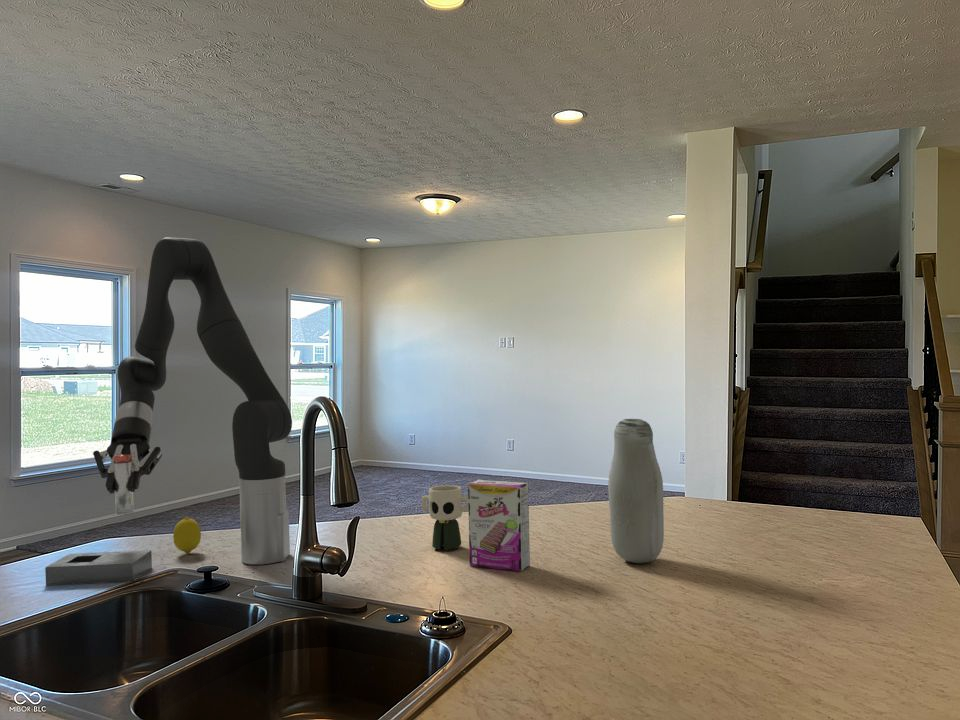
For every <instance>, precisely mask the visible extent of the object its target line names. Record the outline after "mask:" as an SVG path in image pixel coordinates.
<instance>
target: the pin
mask: <svg viewBox="0 0 960 720" xmlns="http://www.w3.org/2000/svg"><path fill="white" fill-rule="evenodd" d="M113 457H114V481H115V492H114V498H115V499H114V500H115V501H114V502H115V515H127V514H128V515H129V514H132V513H134V512H135V506H134V505H135V501H134V500H135V499H134V492H131V491H130V488H129V485H130V479H131V473H132V472H133V465H132V454H122V455H115V456H113Z"/></svg>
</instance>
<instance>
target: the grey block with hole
mask: <svg viewBox="0 0 960 720" xmlns="http://www.w3.org/2000/svg"><path fill="white" fill-rule="evenodd" d="M152 553H153V552H152V549H151V550H149V549H148V550H146V549H145V550H125V551H104V552H83V553H79V552H78V553H69V554H67V555H65V556H63V557H62V558H60V559H58V560H55V561H54V562H52V563H50V564H48V565H47V566H45V567H44V569H45V570H44V571H45V586H46V585H47V586H48V585H49V586H64V585H65V586H69V585H68V584H70V585H86V584H87V585H89V584H92V585H93V584H108V583H129V582H128V581H133V582H135V581H136V580H137V579H139V578H140V577H141V576H143V575H144V574H145V573H146V571H147V570H148V571H149V570H151V569H152V568H153V560H152V559H153V558H152V557H153V556H152ZM151 567H152V568H151ZM150 568H151V569H150ZM148 571H147V572H148ZM143 573H144V574H143ZM142 574H143V575H142ZM140 575H141V576H140ZM139 576H140V577H139ZM138 577H139V578H138ZM136 578H137V579H136ZM135 579H136V580H135ZM134 580H135V581H134Z"/></svg>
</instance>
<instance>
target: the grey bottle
mask: <svg viewBox="0 0 960 720" xmlns="http://www.w3.org/2000/svg"><path fill="white" fill-rule="evenodd" d="M613 440H614V442H613V443H614V445H613V456H612V460H611V463H610V464H611V465H610V470H609V474H608V484H607V485H608V486H607V487H608V488H607V489H608V504H609V525H610V526H609V527H610V528H609V530H610V539H611V540H610V541H611V544H612V546H613V548H614V551H615V552H616V554H617V555H618V556H619V557H620V558H621V559H622V560H625V561H627V562H629V563H634V564H646V563H651V562H652V561H654V560H655V559H657V558H658V557H659V555H660V554H661V552H662V549H663V545H664V539H665V538H664V537H665V536H664V535H665V534H664V533H665V529H664V528H665V527H664V524H665V523H664V520H665V519H664V482H663V476H662V471H661V468H660V465H659V462H658V459H657V455H656V451H655V446H654V441H653V440H654V432H653V428H652V426H651V425H650V423H648V422H647V421H645V420H643V419H642V418H641V419H640V418H624V419H622V420H620V421H619V422H618V423H617V424H616V426H615V428H614V431H613Z"/></svg>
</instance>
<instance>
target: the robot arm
mask: <svg viewBox="0 0 960 720" xmlns="http://www.w3.org/2000/svg"><path fill="white" fill-rule="evenodd" d="M151 255H152V256H151V260H150V265H149V266H150V268H149V273H148V274H149V275H148V282H147V290H146V291H147V294H146V301H145V308H144V313H143V316H142V317H143V318H142V321H141V323H140V327H139V330H138V333H137V335H136V339H135V344H134V348H135V351H136V352H137V353H138V354H139V355H141V356H142V357H144V358H140V357H136V356H128V357H125V358H123V359H122V360H121V361H120V362H119V365H118V367H117V381H118V385H119V388H120V389H119V390H120V401H119V406H118V409H117V413H116V415H115V420H114V425H113V429H112V434H111V439H110V444H109V446H108V447H107V449H105V450H103V451H99V450H94V451H93V452H92V455H93V458H94V461H95V463H96V466H97V470H98V472H99V474H100V477H101V478H102V479H106V481H105V482H106V483H105V488H106V490H107V491H106V492H109V494H115V481H114V457H113V456H115V455H122V454H132V473H131V479H130V485H129V488H130V491H131V492H133V493H135V492H136V490H138V489H139V488H140V487H139V486H140V482H141V477H142V476H145V475H146V476H148V475H149V476H150V475H151V474H152V472H153V470H154V469H155V467H156V465H158V463H159V462H160V460H161V458H162V457H163V454H162V450H161V447H160V446H155V447H151V445H150V441H151V440H150V438H151V434H152V433H151V432H152V428H153V420H154V419H153V412H154V406H155V400H156V399H155V394H154V392H155V391H156V392H157V391H159V390H161V389H162V388H163V387H164V385H165V383H166V380H167V363H166V362H167V352H168V349H169V346H170V344H171V341H172V340H171V339H172V338H173V334H174V331H175V316H174V314H173V309H172V308H171V305H170V300H169V291H170V288H171V285H172V283H173V282H174V280H175V281H179V280H181V281H186V280H187V281H191V282H192V283H193V284H194V286H195V289H196V291H197V293H198V295H199V299H200V306H199V311H198V315H197V319H196V332H197V336H198V338H199V341H200V343H201V344H202V347H203V349H204V351H205V353H206V355H207V357H208V358H209V360H210V361H211V363H212V364H214V366H216V368H217V369H219V370H220V371H221V372H222V373H223V374H224V375H225V376H227V377H228V378H229V379H230V380H232V381H233V383H235V384H236V386H238V387H239V388H240V389H241V391H242V392H243V393H244V395H245V397H246V398H247V400H246V401H243V402H241V403H239V404H238V406H236V408H235V409H234V412H233V417H232V424H231V425H232V427H231V429H232V431H231V432H232V441H233V452H234V455H233V457H234V462H235V465H236V467H237V468H236V469H237V470H238V478H239V481H238V482H239V485H238V487H239V515H240V517H239V518H240V546H241V547H240V549H241V550H240V553H241V555H240V556H241V562H242V563H244V564H247V565H268V564H274V563H278V562H285V561H286V560H287V558H288V557H289V556H290V554H291V552H290V551H291V545H290V544H291V543H290V513H289V509H288V508H287V493H286V487H287V486H286V464H285V462H284V461H283V460H281V459H278V458H275V457H273V455H272V453H271V451H270V449H271V448H270V444H271V443H275V442H279V441H282V440H284V439H286V438H287V437H288V436H289V435H290V433H291V431H292V429H293V419H292V414H291V410H290V408H289V406H288V404H287V403H286V401H285V399H284V398H283V397H282V395H281V393H280V392H279V390H278V388H277V387H276V385H275V384H274V382H273V381H272V379H271V378H270V376H269V375H268V373H267V372H266V369H265V368H264V366H263V364H262V362H261V360H260V358H259V355H257V352H256V350H255V348H254V347H253V345H252V343H251V340H250V339H249V336H248V334H247V331H246V330H245V327H244V326H243V324H242V322H241V320H240V318H239V316H238V315H237V313H236V311H235V309H234V307H233V304H232V301H230V297H228V293H227V292H226V290H225V287H224V285H223V283H222V280H221V277H220V274H219V272H218V269H217V266H216V264H215V261H214V258H213V255H212V254H211V251H210V250H209V248H208V247H207V245H206V244H205V242H203V241H202V240H200V239H195V238H185V237H164V238H161V239H159V241H157V242H156V245H155V246H154V248H153V251H152V254H151ZM145 358H147V359H145ZM147 456H148V457H147ZM107 457H109V458H110V459H111V460H110V464H109V468H106V467H105V464H104V463H105V462H106V461H107ZM145 457H147V459H146V461H145V462H144V463H143V464H142V465H141V461H142V460H143V459H144V458H145Z"/></svg>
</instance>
